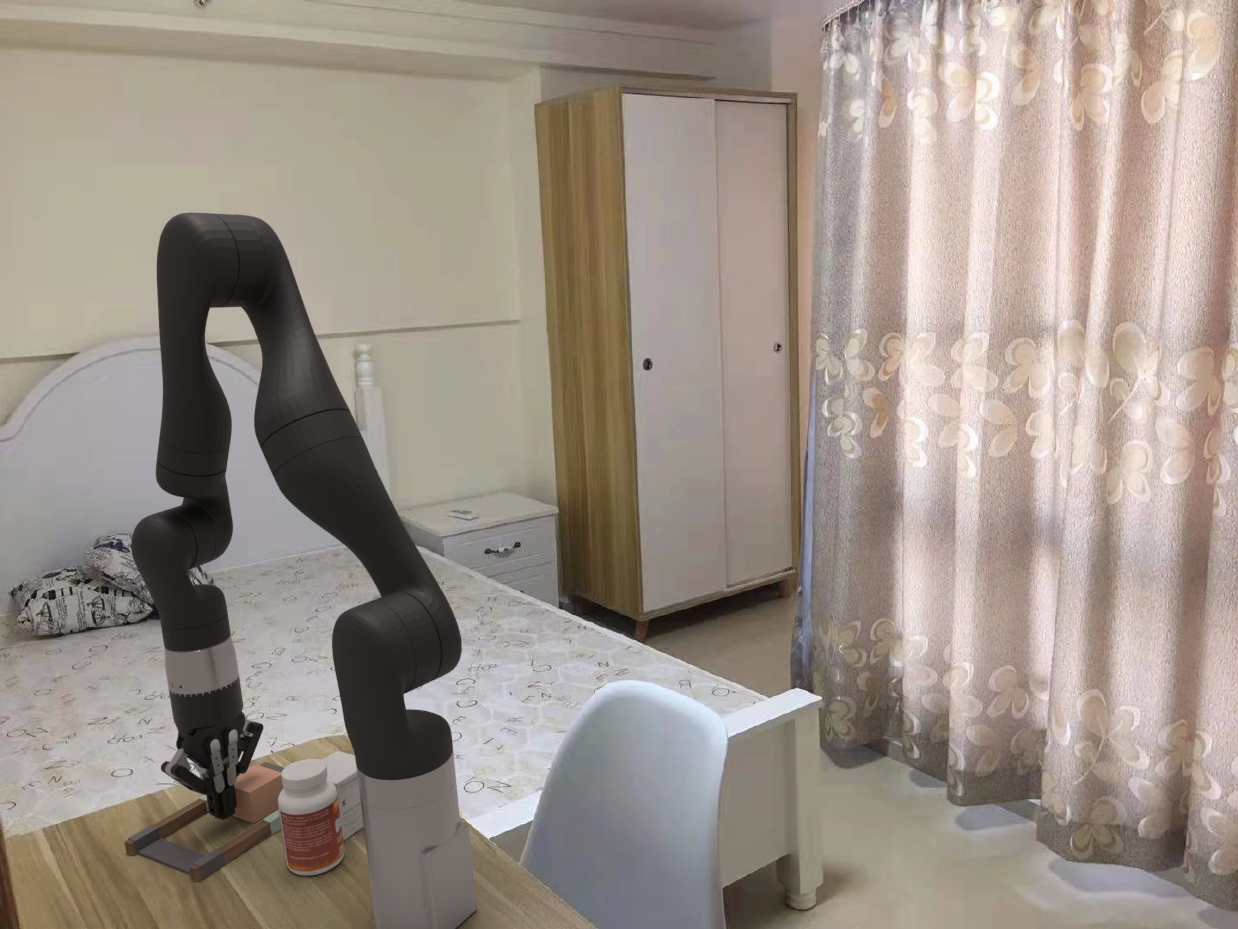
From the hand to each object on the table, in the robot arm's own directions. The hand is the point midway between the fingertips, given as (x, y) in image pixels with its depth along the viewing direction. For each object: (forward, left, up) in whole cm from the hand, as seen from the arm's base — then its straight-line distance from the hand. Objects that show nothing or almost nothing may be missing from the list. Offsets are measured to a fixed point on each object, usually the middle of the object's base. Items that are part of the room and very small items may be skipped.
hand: (224, 815), depth 123 cm
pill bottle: (-15, 0, -2) cm, 15 cm away
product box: (-12, -7, -2) cm, 14 cm away
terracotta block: (0, -5, -2) cm, 5 cm away
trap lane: (0, -1, -2) cm, 2 cm away
